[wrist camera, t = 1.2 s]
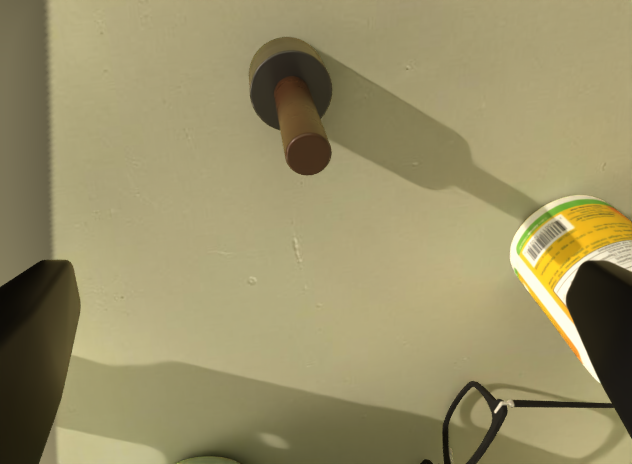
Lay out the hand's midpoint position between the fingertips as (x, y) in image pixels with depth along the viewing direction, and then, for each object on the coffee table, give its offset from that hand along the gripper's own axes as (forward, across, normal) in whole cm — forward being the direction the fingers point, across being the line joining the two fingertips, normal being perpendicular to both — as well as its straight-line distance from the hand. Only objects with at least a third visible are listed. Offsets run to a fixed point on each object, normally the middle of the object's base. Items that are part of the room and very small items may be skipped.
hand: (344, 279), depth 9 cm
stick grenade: (+12, 0, 0) cm, 12 cm away
